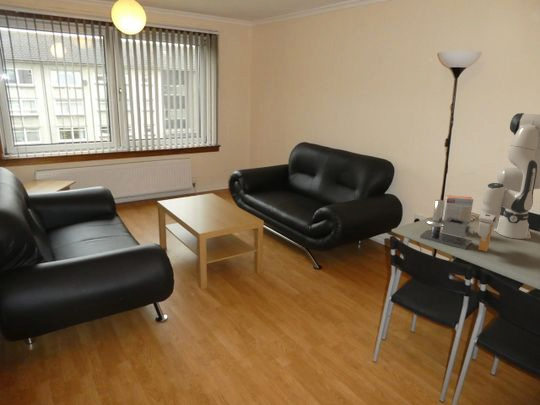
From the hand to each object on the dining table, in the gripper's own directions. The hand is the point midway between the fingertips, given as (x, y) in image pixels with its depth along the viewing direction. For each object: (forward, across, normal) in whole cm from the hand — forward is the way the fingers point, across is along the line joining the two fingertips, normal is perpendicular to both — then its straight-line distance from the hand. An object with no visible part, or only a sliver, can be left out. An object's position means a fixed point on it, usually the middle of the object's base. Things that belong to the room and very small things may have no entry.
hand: (485, 239), depth 205 cm
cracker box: (+6, -19, -20) cm, 28 cm away
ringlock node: (+6, 0, -19) cm, 20 cm away
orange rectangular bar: (+6, 0, 0) cm, 6 cm away
